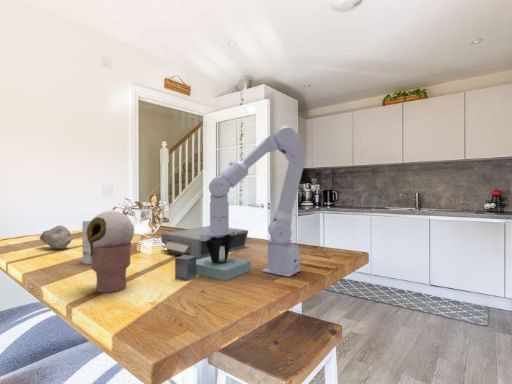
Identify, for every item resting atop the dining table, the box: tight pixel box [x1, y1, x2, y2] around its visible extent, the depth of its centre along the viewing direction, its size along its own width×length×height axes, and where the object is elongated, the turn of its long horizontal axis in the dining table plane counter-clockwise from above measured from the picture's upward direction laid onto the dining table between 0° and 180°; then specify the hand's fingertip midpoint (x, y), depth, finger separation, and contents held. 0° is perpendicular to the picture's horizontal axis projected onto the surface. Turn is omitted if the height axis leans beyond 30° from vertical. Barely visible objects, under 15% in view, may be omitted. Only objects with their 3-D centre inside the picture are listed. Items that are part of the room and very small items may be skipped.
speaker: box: [161, 225, 249, 260], centre depth 122 cm, size 24×8×30 cm
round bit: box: [214, 244, 225, 264], centre depth 90 cm, size 3×3×7 cm
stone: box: [39, 224, 73, 250], centre depth 124 cm, size 9×14×10 cm, turn 59°
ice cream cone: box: [86, 210, 135, 294], centre depth 75 cm, size 11×11×20 cm
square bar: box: [174, 255, 197, 282], centre depth 84 cm, size 4×4×6 cm
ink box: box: [81, 220, 91, 265], centre depth 101 cm, size 8×5×15 cm, turn 72°
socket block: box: [196, 256, 252, 282], centre depth 90 cm, size 15×12×3 cm
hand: (219, 260), depth 90 cm, fingers closed on round bit, 3 cm apart
